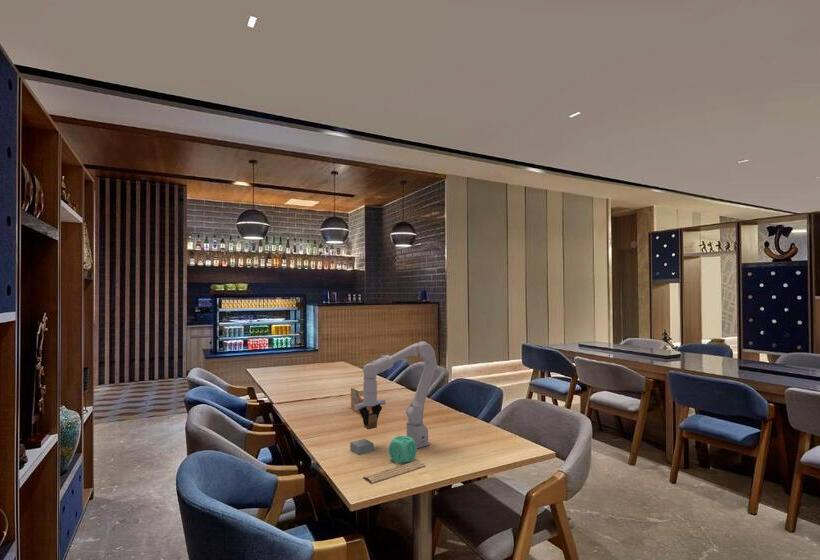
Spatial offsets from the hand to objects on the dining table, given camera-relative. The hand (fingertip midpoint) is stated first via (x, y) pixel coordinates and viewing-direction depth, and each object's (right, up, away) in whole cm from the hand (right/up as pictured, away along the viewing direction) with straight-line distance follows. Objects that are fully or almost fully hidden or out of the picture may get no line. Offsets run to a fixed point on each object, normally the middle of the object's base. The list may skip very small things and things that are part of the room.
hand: (370, 424), depth 182 cm
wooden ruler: (+11, -9, -27) cm, 31 cm away
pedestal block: (-3, -10, -5) cm, 11 cm away
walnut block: (0, -1, 0) cm, 1 cm away
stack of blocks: (-9, -12, +55) cm, 57 cm away
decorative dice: (+14, -9, -16) cm, 23 cm away
